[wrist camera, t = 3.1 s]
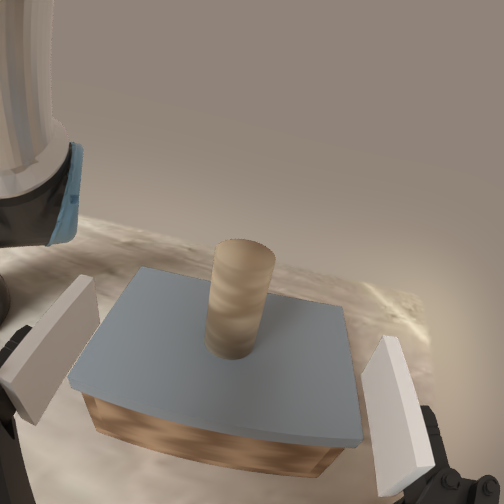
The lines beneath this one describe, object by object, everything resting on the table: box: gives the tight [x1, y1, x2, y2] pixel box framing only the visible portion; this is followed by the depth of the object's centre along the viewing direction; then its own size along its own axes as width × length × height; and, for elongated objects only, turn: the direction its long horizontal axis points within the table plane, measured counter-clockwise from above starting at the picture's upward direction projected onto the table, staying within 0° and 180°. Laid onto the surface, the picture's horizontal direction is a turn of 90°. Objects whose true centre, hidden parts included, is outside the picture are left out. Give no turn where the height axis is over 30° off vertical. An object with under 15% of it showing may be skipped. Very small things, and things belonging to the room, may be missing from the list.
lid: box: [68, 239, 363, 448], centre depth 26 cm, size 23×17×10 cm
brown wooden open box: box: [82, 392, 344, 478], centre depth 31 cm, size 22×16×8 cm
